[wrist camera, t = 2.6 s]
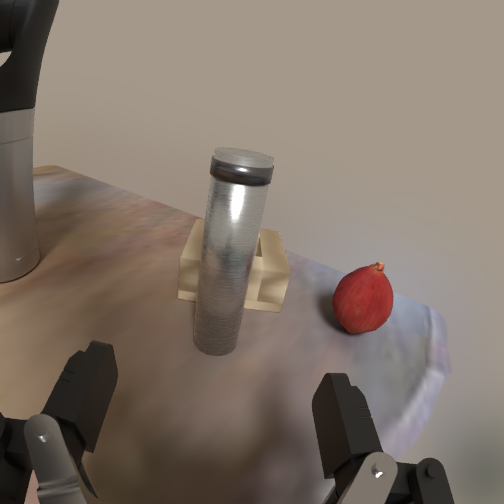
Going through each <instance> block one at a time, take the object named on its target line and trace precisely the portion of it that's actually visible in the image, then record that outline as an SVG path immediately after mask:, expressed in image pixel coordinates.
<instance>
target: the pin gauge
mask: <svg viewBox="0 0 504 504" xmlns="http://www.w3.org/2000/svg"><path fill="white" fill-rule="evenodd" d="M273 160H274V158H273V157H271V156H269V155H265V154H262V153H258V152H254V151H248V150H242V149H235V148H215V153H214V156H212V162H211V168H210V174H211V180H210V187H209V194H208V201H207V209H206V217H205V225H204V233H203V241H202V250H201V259H200V269H199V279H198V289H197V300H196V311H195V323H194V336H193V341H194V344H195V346H196V347H197V348H198V349H199V350H200V351H202V352H204V353H206V354H209V355H214V356H221V355H226V354H228V353H230V352H232V351H233V350H234V349H235V347H236V343H237V338H238V333H239V329H240V324H241V319H242V314H243V309H244V304H245V299H246V294H247V289H248V284H249V279H250V274H251V269H252V265H253V260H254V255H255V250H256V245H257V240H258V235H259V230H260V225H261V220H262V215H263V210H264V205H265V200H266V195H267V190H268V185H269V184H270V183H271V178H272V173H273V169H274V166H273Z"/></svg>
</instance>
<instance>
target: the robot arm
mask: <svg viewBox="0 0 504 504" xmlns="http://www.w3.org/2000/svg"><path fill="white" fill-rule="evenodd" d="M58 4H59V0H0V53H3V52H9V51H12V52H11V54H10V56H9V58H8V59H7V61H6V62H5V63H4V64H3V65H2V66H1V67H0V282H6V281H10V280H14V279H16V278H19V277H21V276H23V275H25V274H26V273H28V272H29V271H31V270H32V269H33V268H34V267H35V266H36V265H37V264H38V262H39V260H40V251H39V244H38V236H37V228H36V217H35V206H34V190H33V127H34V114H35V109H34V107H35V102H36V93H37V86H38V81H39V74H40V69H41V62H42V58H43V54H44V50H45V46H46V42H47V39H48V35H49V32H50V29H51V26H52V23H53V20H54V16H55V13H56V10H57V7H58ZM117 378H118V370H117V365H116V360H115V355H114V350H113V346H112V345H111V344H106V343H102V342H98V341H94V340H93V341H92V342H91V343H90V345H89V347H88V349H87V350H86V352H83V351H78V352H77V353H75V354H74V355H73V356H72V357H70V358H69V360H68V362H67V364H66V365H65V367H64V371H62V373H61V375H60V377H59V380H58V381H57V383H56V385H55V387H54V389H53V391H52V393H51V395H50V397H49V399H48V401H47V403H46V405H45V407H44V409H43V411H42V412H41V413H40V414H37V415H34V416H32V417H30V418H29V419H28V420H19V419H11V418H5V417H4V416H3V415H2V414H1V412H0V504H24V502H25V497H26V493H27V489H28V485H29V481H30V477H31V473H32V470H34V471H35V475H36V478H37V480H38V484H39V488H38V489H37V496H38V499H39V502H40V504H104V503H103V502H102V500H101V498H100V497H99V495H98V493H97V491H96V489H95V487H94V485H93V483H92V481H91V478H90V476H89V474H88V472H87V470H86V468H85V465H84V463H83V461H82V456H83V453H84V450H85V451H88V452H91V453H93V452H94V449H95V446H96V443H97V439H98V436H99V433H100V430H101V427H102V424H103V421H104V418H105V415H106V412H107V409H108V406H109V403H110V401H111V398H112V395H113V392H114V389H115V387H116V383H117ZM312 412H313V417H314V423H315V428H316V433H317V439H318V444H319V450H320V455H321V461H322V466H323V472H324V478H325V479H330V478H335V485H334V486H333V488H332V489H331V491H330V492H329V494H328V496H327V497H326V499H325V500H324V502H323V503H322V504H454V500H453V497H452V493H451V490H450V486H449V483H448V480H447V476H446V473H445V470H444V467H443V465H442V464H441V463H440V462H439V461H438V460H436V459H434V458H426V459H423V460H422V461H421V462H419V463H418V464H409V463H400V462H396V461H395V460H394V459H393V458H392V457H391V456H390V455H388V454H386V453H384V452H383V450H382V447H381V444H380V441H379V438H378V435H377V432H376V429H375V426H374V423H373V420H372V418H371V414H370V411H369V409H368V405H367V402H366V399H365V396H364V395H363V393H362V392H361V391H360V390H359V389H358V387H357V386H351V385H350V382H349V379H348V376H347V374H345V373H326V374H325V375H324V377H323V379H322V381H321V383H320V385H319V387H318V389H317V390H316V392H315V394H314V396H313V400H312Z"/></svg>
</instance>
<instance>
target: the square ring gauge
mask: <svg viewBox="0 0 504 504" xmlns="http://www.w3.org/2000/svg"><path fill="white" fill-rule="evenodd" d="M204 225H205V220H201V219H196V222H195V224H194V226H193V229H192V231H191V234H190V236H189V238H188V241H187V243H186V246H185V248H184V250H183V253H182V255H181V258H180V273H179V291H178V299H184V300H190V301H196V300H197V289H198V279H199V269H200V259H201V250H202V241H203V233H204ZM290 274H291V273H290V269H289V266H288V262H287V258H286V254H285V251H284V247H283V243H282V240H281V236H280V233H279V231H272V230H266V229H260V230H259V235H258V240H257V245H256V250H255V255H254V260H253V265H252V269H251V274H250V279H249V284H248V289H247V294H246V299H245V304H244V308H247V309H255V310H263V311H271V312H280V310H281V306H282V303H283V299H284V296H285V292H286V289H287V285H288V282H289V278H290Z"/></svg>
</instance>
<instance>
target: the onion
mask: <svg viewBox="0 0 504 504" xmlns="http://www.w3.org/2000/svg"><path fill="white" fill-rule="evenodd" d="M383 272H384V264H383V263H382V262H377V263H376V264H372V265H370V266H366V267H361V268H359V269H357V270H355V271H353V272H351V273H349V274H347V275H346V276H345V277H343V279H342V280H341V281H340V282H339V284H338V286H337V288H336V290H335V293H334V296H333V302H332V305H333V309H334V312H335V315H336V317H337V319H338V320H339V322H340V323H341V324H342V325H343V326H344V328H345V329H346V330H347V332H349V333H351V334H356V333H366V332H370V331H374V330H376V329H377V328H379V327H380V326H382V325H383V324H384V323H385V322H386V321H387V319H388V318H389V316H390V314H391V311H392V307H393V291H392V287H391V285H390V283H389V280H388V279H387V277H386V276H385V274H384V273H383Z"/></svg>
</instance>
